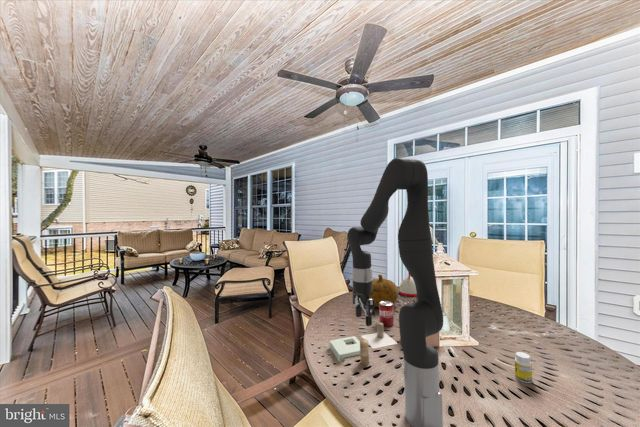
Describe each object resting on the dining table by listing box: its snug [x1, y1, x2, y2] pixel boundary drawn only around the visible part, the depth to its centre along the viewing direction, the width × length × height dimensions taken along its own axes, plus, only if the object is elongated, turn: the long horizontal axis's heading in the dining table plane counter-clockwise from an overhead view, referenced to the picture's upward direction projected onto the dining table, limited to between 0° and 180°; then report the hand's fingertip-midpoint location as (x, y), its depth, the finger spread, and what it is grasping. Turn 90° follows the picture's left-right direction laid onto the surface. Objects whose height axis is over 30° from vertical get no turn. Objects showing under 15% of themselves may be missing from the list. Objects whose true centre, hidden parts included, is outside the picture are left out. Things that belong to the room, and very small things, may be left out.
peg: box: [359, 338, 370, 366], centre depth 100 cm, size 3×3×10 cm
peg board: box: [329, 335, 360, 363], centre depth 111 cm, size 12×12×3 cm
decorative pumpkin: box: [369, 274, 399, 308], centre depth 163 cm, size 20×21×20 cm
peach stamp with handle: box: [426, 331, 440, 348], centre depth 114 cm, size 11×11×15 cm
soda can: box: [378, 301, 395, 328], centre depth 133 cm, size 7×7×12 cm
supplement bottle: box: [514, 351, 533, 384], centre depth 90 cm, size 5×5×8 cm
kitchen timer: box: [398, 272, 417, 297], centre depth 184 cm, size 14×14×15 cm
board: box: [360, 321, 398, 350], centre depth 117 cm, size 12×12×8 cm
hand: (363, 320), depth 100 cm, fingers open, 8 cm apart
